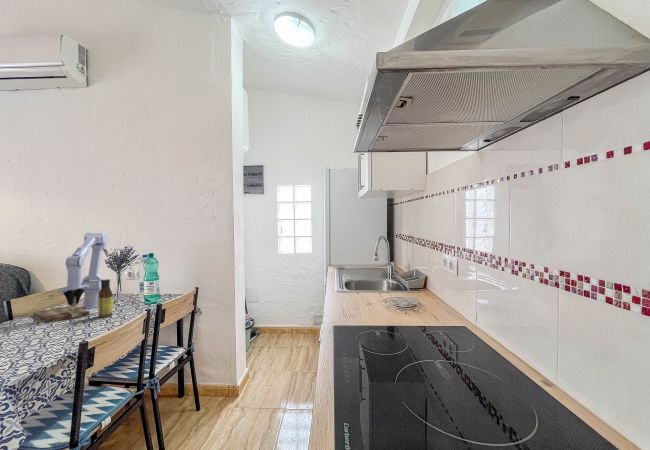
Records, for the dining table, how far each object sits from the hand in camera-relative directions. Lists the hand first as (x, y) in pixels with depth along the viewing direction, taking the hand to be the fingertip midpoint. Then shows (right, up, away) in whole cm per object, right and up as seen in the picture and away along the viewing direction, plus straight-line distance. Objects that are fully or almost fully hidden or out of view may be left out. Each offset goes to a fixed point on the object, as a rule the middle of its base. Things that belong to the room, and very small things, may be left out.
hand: (73, 304), depth 167 cm
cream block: (+1, -6, -1) cm, 6 cm away
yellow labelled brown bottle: (+16, -7, +1) cm, 18 cm away
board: (-7, -6, +1) cm, 9 cm away
